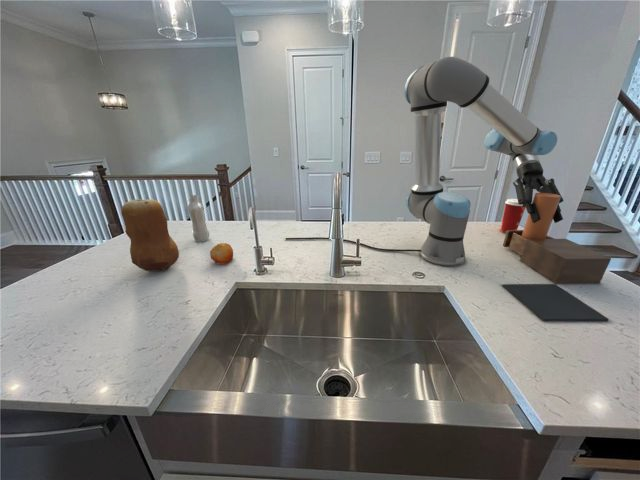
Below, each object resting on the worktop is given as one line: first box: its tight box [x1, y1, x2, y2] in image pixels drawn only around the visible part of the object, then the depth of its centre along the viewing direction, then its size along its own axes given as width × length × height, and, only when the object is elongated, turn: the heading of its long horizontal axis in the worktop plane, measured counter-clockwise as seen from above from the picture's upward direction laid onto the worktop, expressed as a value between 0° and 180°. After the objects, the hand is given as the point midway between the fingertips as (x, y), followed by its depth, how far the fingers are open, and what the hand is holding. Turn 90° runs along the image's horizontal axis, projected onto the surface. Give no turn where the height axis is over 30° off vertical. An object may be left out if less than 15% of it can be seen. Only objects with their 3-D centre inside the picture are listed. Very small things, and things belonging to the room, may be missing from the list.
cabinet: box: [519, 238, 612, 284], centre depth 86 cm, size 16×14×9 cm
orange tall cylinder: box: [522, 192, 562, 239], centre depth 94 cm, size 7×7×18 cm
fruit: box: [209, 242, 234, 265], centre depth 95 cm, size 8×8×8 cm
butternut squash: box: [120, 198, 180, 272], centre depth 87 cm, size 14×13×25 cm
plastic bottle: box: [186, 194, 210, 242], centre depth 112 cm, size 6×7×20 cm
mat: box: [501, 283, 609, 322], centre depth 72 cm, size 16×16×1 cm
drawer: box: [502, 229, 555, 256], centre depth 98 cm, size 19×12×7 cm, turn 179°
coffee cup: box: [500, 198, 526, 234], centre depth 118 cm, size 8×8×15 cm
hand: (547, 220), depth 90 cm, fingers closed on orange tall cylinder, 7 cm apart
